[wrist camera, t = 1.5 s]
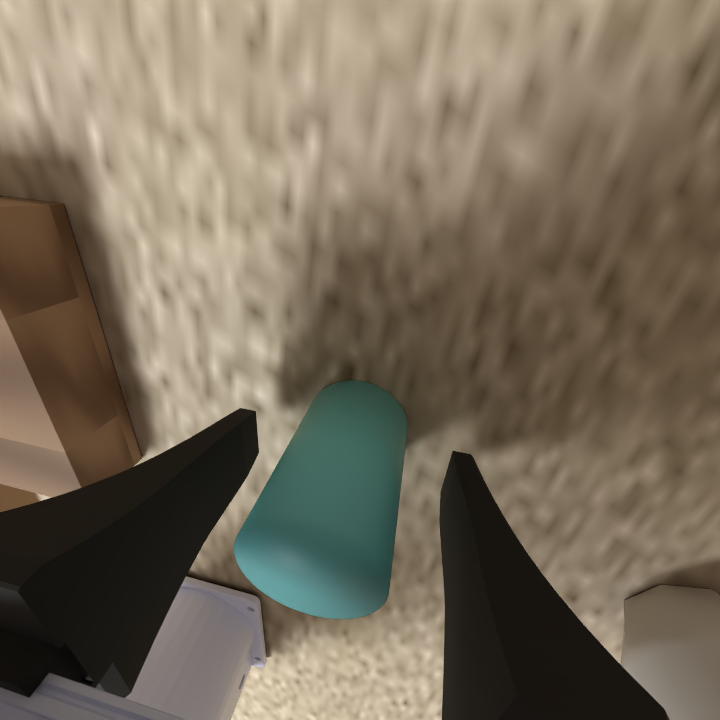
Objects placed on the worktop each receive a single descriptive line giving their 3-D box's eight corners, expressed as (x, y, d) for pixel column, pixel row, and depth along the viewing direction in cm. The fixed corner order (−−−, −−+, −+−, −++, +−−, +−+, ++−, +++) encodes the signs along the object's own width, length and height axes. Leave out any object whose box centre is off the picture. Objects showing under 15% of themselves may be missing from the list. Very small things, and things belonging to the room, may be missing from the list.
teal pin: (399, 469, 14) (379, 634, 9) (309, 450, 15) (240, 595, 10) (415, 390, 12) (400, 542, 7) (310, 372, 13) (225, 500, 8)
